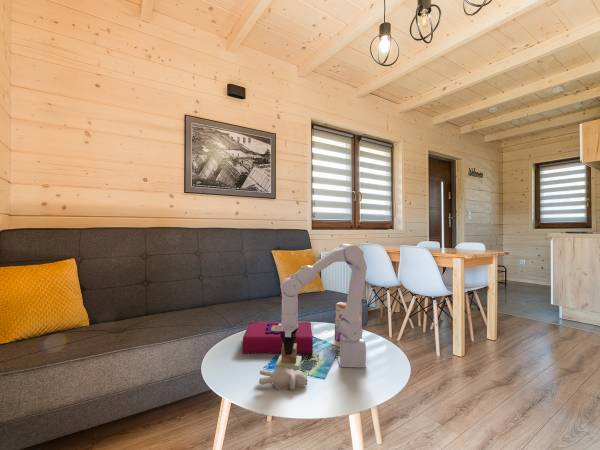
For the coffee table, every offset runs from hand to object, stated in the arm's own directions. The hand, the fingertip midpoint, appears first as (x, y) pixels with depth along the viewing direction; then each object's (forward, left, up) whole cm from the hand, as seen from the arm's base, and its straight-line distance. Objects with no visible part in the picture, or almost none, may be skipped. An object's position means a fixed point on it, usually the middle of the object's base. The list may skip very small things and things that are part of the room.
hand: (289, 350), depth 110 cm
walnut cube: (0, 0, -3) cm, 3 cm away
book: (+6, -22, -7) cm, 24 cm away
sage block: (0, 0, -7) cm, 7 cm away
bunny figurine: (+1, +12, -7) cm, 14 cm away
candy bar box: (-24, -28, -7) cm, 37 cm away
